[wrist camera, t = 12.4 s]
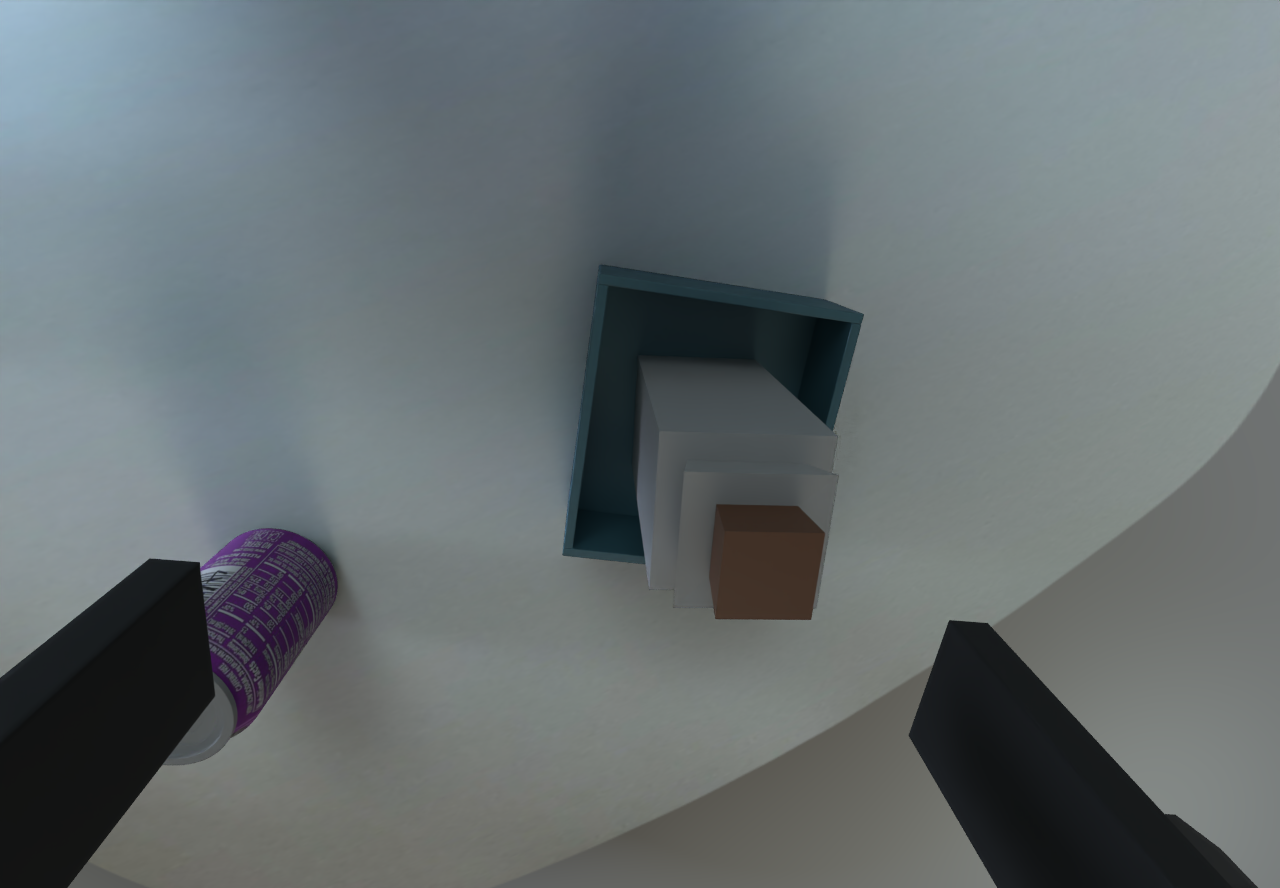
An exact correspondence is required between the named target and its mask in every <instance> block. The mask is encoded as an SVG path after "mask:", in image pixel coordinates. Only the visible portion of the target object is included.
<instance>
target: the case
mask: <svg viewBox="0 0 1280 888" xmlns="http://www.w3.org/2000/svg"><path fill="white" fill-rule="evenodd" d="M863 316H864V314H862V313H859V312H857V311H854V310H851V309H849V308H846V307H843V306H841V305H838V304H836V303H833V302H830V301H828V300H824V299H818V298H812V297H805V296H799V295H792V294H786V293H780V292H773V291H767V290H760V289H754V288H748V287H741V286H735V285H729V284H722V283H716V282H709V281H703V280H697V279H690V278H684V277H678V276H671V275H665V274H658V273H652V272H646V271H639V270H633V269H626V268H620V267H614V266H607V265H601V264H600V265H599V270H598V278H597V285H596V293H595V301H594V308H593V316H592V324H591V331H590V339H589V347H588V354H587V362H586V370H585V377H584V385H583V392H582V400H581V408H580V415H579V423H578V431H577V438H576V446H575V454H574V461H573V469H572V477H571V484H570V492H569V500H568V507H567V516H566V526H565V535H564V545H563V556H572V557H581V558H591V559H600V560H610V561H619V562H628V563H638V564H646V563H645V555H644V548H643V541H642V534H641V526H640V519H639V512H638V505H637V498H636V490H635V483H634V476H633V469H632V459H633V439H634V419H635V400H636V380H637V360H638V355H647V356H674V357H700V358H727V359H753V360H756V361H757V362H758V363H759V364H760V365H762V366H763V367H764V368H765V369H766V370H767V371H768V372H769V373H770V374H771V375H772V376H773V377H774V378H776V379H777V380H778V381H779V382H780V383H781V384H782V385H783V386H784V387H785V388H786V389H787V390H788V391H790V392H791V393H792V394H793V395H794V396H795V397H796V398H797V399H798V400H799V401H800V402H801V403H802V404H804V405H805V406H806V407H807V408H808V409H809V410H810V411H811V412H812V413H813V414H814V415H815V416H816V417H818V418H819V419H820V420H821V421H822V422H823V423H824V424H825V425H826V426H827V427H828V428H829V429H830V430H832V431H833V428H834V424H835V421H836V417H837V413H838V409H839V406H840V402H841V398H842V394H843V391H844V387H845V383H846V380H847V376H848V372H849V368H850V365H851V361H852V357H853V353H854V350H855V346H856V342H857V338H858V335H859V331H860V327H861V323H862V320H863Z"/></svg>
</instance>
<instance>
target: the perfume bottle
mask: <svg viewBox="0 0 1280 888" xmlns="http://www.w3.org/2000/svg"><path fill="white" fill-rule="evenodd" d="M837 438H838V436H837V435H836V434H835V433H834V432H833V431H832V430H830V429H829V428H828V427H827V426H826V425H825V424H824V423H823V422H822V421H821V420H820V419H819V418H818V417H816V416H815V415H814V414H813V413H812V412H811V411H810V410H809V409H808V408H807V407H806V406H805V405H804V404H802V403H801V402H800V401H799V400H798V399H797V398H796V397H795V396H794V395H793V394H792V393H791V392H790V391H788V390H787V389H786V388H785V387H784V386H783V385H782V384H781V383H780V382H779V381H778V380H777V379H776V378H774V377H773V376H772V375H771V374H770V373H769V372H768V371H767V370H766V369H765V368H764V367H763V366H762V365H760V364H759V363H758V362H757V361H756V360H753V359H727V358H700V357H674V356H647V355H638V360H637V380H636V400H635V419H634V439H633V459H632V469H633V476H634V483H635V490H636V498H637V505H638V512H639V519H640V526H641V534H642V541H643V548H644V555H645V563H646V570H647V577H648V584H649V590H675V592H674V604H673V608H714V613H715V619H771V620H811V617H812V611H813V609H816V608H817V602H818V596H819V590H820V584H821V578H822V572H823V566H824V560H825V554H826V549H827V543H828V537H829V531H830V525H831V519H832V513H833V507H834V501H835V495H836V489H837V483H838V477H839V475H836V474H833V473H832V469H833V463H834V457H835V451H836V445H837Z"/></svg>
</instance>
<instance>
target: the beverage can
mask: <svg viewBox="0 0 1280 888" xmlns="http://www.w3.org/2000/svg"><path fill="white" fill-rule="evenodd" d="M200 571H201V579H202V587H203V596H204V604H205V613H206V621H207V629H208V638H209V646H210V655H211V663H212V671H213V680H214V688H215V697H214V698H213V700H212V701H211V702H210V704H209V705H208V706H207V708H206V709H205V710H204V711H203V713H202V714H201V715H200V717H199V718H198V719H197V720H196V722H195V723H194V724H193V726H192V727H191V728H190V730H189V731H188V732H187V733H186V735H185V736H184V737H183V739H182V740H181V741H180V742H179V744H178V745H177V746H176V748H175V749H174V750H173V752H172V753H171V754H170V755H169V757H168V758H167V759H166V761H165V762H164V763H163V764H162V765H186V764H192V763H196V762H199V761H202V760H205V759H207V758H209V757H211V756H213V755H214V754H216V753H217V752H218V751H220V750H221V749H222V748H223V747H224V746H225V744H226V743H227V742H228V740H229V739H230V738H232V737H233V736H235V735H237V734H239V733H240V732H242V731H243V730H244V729H246V728H247V727H248V726H249V725H250V724H251V723H252V722H253V721H254V720H255V718H256V717H257V716H258V714H259V713H260V712H261V710H262V709H263V707H264V706H265V704H266V703H267V701H268V700H269V698H270V697H271V695H272V694H273V692H274V691H275V689H276V688H277V687H278V685H279V684H280V682H281V681H282V679H283V678H284V676H285V675H286V673H287V672H288V670H289V669H290V667H291V666H292V664H293V663H294V662H295V660H296V659H297V657H298V656H299V654H300V653H301V651H302V650H303V648H304V647H305V645H306V644H307V642H308V641H309V639H310V638H311V637H312V635H313V634H314V632H315V631H316V629H317V628H318V626H319V625H320V623H321V622H322V620H323V619H324V617H325V616H326V614H327V613H328V612H329V610H330V609H331V607H332V605H333V603H334V601H335V599H336V595H337V589H338V583H337V576H336V573H335V570H334V567H333V565H332V563H331V562H330V560H329V558H328V557H327V556H326V555H325V553H324V552H323V551H322V550H321V549H320V548H319V547H318V546H316V545H315V544H314V543H313V542H311V541H310V540H308V539H306V538H304V537H302V536H300V535H298V534H296V533H293V532H290V531H286V530H281V529H271V528H266V529H256V530H252V531H248V532H246V533H243V534H241V535H239V536H237V537H236V538H234V539H233V540H232V541H230V542H229V543H228V544H227V545H226V546H225V547H224V548H223V549H221V550H220V551H219V552H218V553H217V554H216V555H215V556H214V557H213V558H211V559H210V560H209V561H208V562H207V563H206V564H205V565H204V566H202V567H201V568H200Z"/></svg>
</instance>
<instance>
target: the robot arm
mask: <svg viewBox="0 0 1280 888" xmlns="http://www.w3.org/2000/svg"><path fill="white" fill-rule="evenodd" d="M214 697H215V688H214V680H213V671H212V663H211V655H210V646H209V638H208V629H207V621H206V613H205V604H204V596H203V587H202V579H201V571H200V562H187V561H174V560H162V559H149V560H147V561H146V562H145V563H144V564H142V565H141V566H140V567H139V568H137V569H136V570H135V571H134V572H132V573H131V574H130V575H129V576H127V577H126V578H125V579H124V580H122V581H121V582H120V583H119V584H117V585H116V586H115V587H114V588H112V589H111V590H110V591H109V592H107V593H106V594H105V595H104V596H102V597H101V598H100V599H99V600H97V601H96V602H95V603H94V604H92V605H91V606H90V607H89V608H87V609H86V610H85V611H84V612H82V613H81V614H80V615H78V616H77V617H76V618H75V619H73V620H72V621H71V622H70V623H68V624H67V625H66V626H65V627H63V628H62V629H61V630H60V631H58V632H57V633H56V634H55V635H53V636H52V637H51V638H50V639H48V640H47V641H46V642H45V643H43V644H42V645H41V646H40V647H38V648H37V649H36V650H35V651H33V652H32V653H31V654H30V655H28V656H27V657H26V658H25V659H23V660H22V661H21V662H20V663H18V664H17V665H16V666H15V667H13V668H12V669H11V670H10V671H8V672H7V673H6V674H5V675H3V676H2V677H1V678H0V888H67V887H68V886H69V885H70V884H71V882H72V881H73V880H74V878H75V877H76V876H77V874H78V873H79V872H80V871H81V869H82V868H83V867H84V865H85V864H86V863H87V862H88V860H89V859H90V858H91V856H92V855H93V854H94V853H95V851H96V850H97V849H98V847H99V846H100V845H101V843H102V842H103V841H104V840H105V838H106V837H107V836H108V834H109V833H110V832H111V831H112V829H113V828H114V827H115V825H116V824H117V823H118V821H119V820H120V819H121V818H122V816H123V815H124V814H125V812H126V811H127V810H128V808H129V807H130V806H131V805H132V803H133V802H134V801H135V799H136V798H137V797H138V796H139V794H140V793H141V792H142V790H143V789H144V788H145V786H146V785H147V784H148V783H149V781H150V780H151V779H152V777H153V776H154V775H155V774H156V772H157V771H158V770H159V768H160V767H161V766H162V764H163V763H164V762H165V761H166V759H167V758H168V757H169V755H170V754H171V753H172V752H173V750H174V749H175V748H176V746H177V745H178V744H179V742H180V741H181V740H182V739H183V737H184V736H185V735H186V733H187V732H188V731H189V730H190V728H191V727H192V726H193V724H194V723H195V722H196V720H197V719H198V718H199V717H200V715H201V714H202V713H203V711H204V710H205V709H206V708H207V706H208V705H209V704H210V702H211V701H212V700H213V698H214ZM909 737H910V739H911V740H912V742H913V744H914V746H915V747H916V749H917V751H918V752H919V754H920V756H921V758H922V759H923V761H924V763H925V764H926V766H927V768H928V770H929V771H930V773H931V775H932V776H933V778H934V780H935V782H936V783H937V785H938V787H939V788H940V790H941V792H942V794H943V795H944V797H945V799H946V800H947V802H948V804H949V806H950V807H951V809H952V811H953V812H954V814H955V816H956V818H957V819H958V821H959V823H960V825H961V826H962V828H963V830H964V831H965V833H966V835H967V837H968V838H969V840H970V842H971V843H972V845H973V847H974V848H975V850H976V852H977V854H978V855H979V857H980V859H981V860H982V862H983V864H984V866H985V867H986V869H987V871H988V873H989V874H990V876H991V878H992V879H993V881H994V883H995V885H996V886H997V888H1258V887H1257V886H1256V885H1255V884H1254V883H1253V882H1252V881H1251V880H1250V879H1249V878H1248V877H1247V876H1246V875H1245V874H1244V873H1243V872H1242V871H1241V870H1240V869H1239V868H1238V866H1237V865H1236V864H1235V863H1234V862H1233V861H1232V860H1231V859H1230V858H1229V857H1228V856H1227V855H1226V854H1225V853H1224V852H1223V851H1222V850H1221V849H1220V848H1219V847H1217V846H1216V845H1215V844H1213V843H1212V842H1211V841H1209V840H1208V839H1207V838H1205V837H1204V836H1203V835H1201V834H1200V833H1199V832H1197V831H1196V830H1195V829H1194V828H1192V827H1191V826H1189V825H1188V824H1187V823H1186V822H1184V821H1183V820H1182V819H1180V818H1179V817H1178V816H1176V815H1170V814H1164V813H1163V812H1162V811H1161V810H1160V809H1159V808H1158V807H1157V806H1156V805H1155V804H1154V802H1153V801H1152V800H1151V799H1150V798H1149V797H1148V796H1147V795H1146V794H1145V793H1144V792H1143V790H1142V789H1141V788H1140V787H1139V786H1138V785H1137V784H1136V783H1135V782H1134V781H1133V780H1132V779H1131V778H1130V776H1129V775H1128V774H1127V773H1126V772H1125V771H1124V770H1123V769H1122V768H1121V767H1120V766H1119V765H1118V763H1116V761H1115V760H1114V759H1113V758H1112V757H1111V756H1110V755H1109V754H1108V753H1107V752H1106V751H1105V749H1104V748H1103V747H1102V746H1101V745H1100V744H1099V743H1098V742H1097V741H1096V740H1095V739H1094V738H1093V736H1092V735H1091V734H1090V733H1089V732H1088V731H1087V730H1086V729H1085V728H1084V727H1083V726H1082V725H1081V723H1080V722H1079V721H1078V720H1077V719H1076V718H1075V717H1074V716H1073V715H1072V714H1071V713H1070V712H1069V711H1068V710H1067V708H1066V707H1065V706H1064V705H1063V704H1062V703H1061V702H1060V701H1059V700H1058V699H1057V698H1056V697H1055V695H1054V694H1053V693H1052V692H1051V691H1050V690H1049V689H1048V688H1047V687H1046V686H1045V685H1044V684H1043V682H1042V681H1041V680H1040V679H1039V678H1038V677H1037V676H1036V675H1035V674H1034V673H1033V672H1032V671H1031V669H1030V668H1029V667H1027V665H1026V664H1025V663H1024V662H1023V661H1022V660H1021V659H1020V658H1019V657H1018V655H1017V654H1016V653H1015V652H1014V651H1013V650H1012V649H1011V648H1010V647H1009V646H1008V645H1007V644H1006V642H1005V641H1003V639H1002V638H1001V637H1000V636H999V635H998V634H997V633H996V632H995V631H994V630H993V628H992V627H991V626H990V625H989V624H988V623H978V622H965V621H952V620H949V622H948V625H947V628H946V631H945V634H944V637H943V639H942V642H941V645H940V648H939V651H938V654H937V656H936V659H935V662H934V665H933V668H932V671H931V674H930V676H929V679H928V682H927V685H926V688H925V690H924V693H923V696H922V699H921V702H920V705H919V708H918V711H917V713H916V716H915V719H914V722H913V725H912V727H911V731H910V733H909Z"/></svg>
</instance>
